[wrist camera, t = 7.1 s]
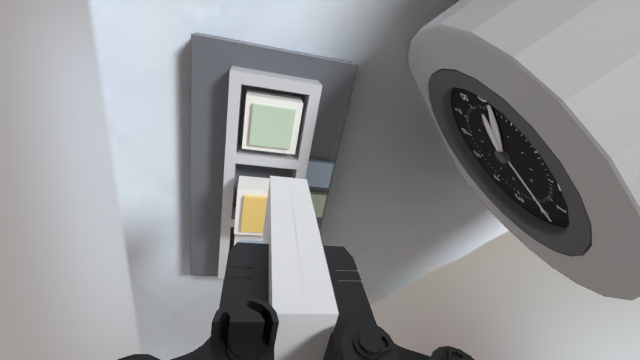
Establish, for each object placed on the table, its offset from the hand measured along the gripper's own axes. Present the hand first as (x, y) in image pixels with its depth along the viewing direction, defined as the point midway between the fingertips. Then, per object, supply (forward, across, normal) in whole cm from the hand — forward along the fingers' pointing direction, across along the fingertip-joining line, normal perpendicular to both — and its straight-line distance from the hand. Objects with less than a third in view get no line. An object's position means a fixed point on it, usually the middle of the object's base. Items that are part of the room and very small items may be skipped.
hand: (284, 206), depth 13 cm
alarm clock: (+16, +18, +3) cm, 24 cm away
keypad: (+15, 0, -6) cm, 16 cm away
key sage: (+13, 0, 0) cm, 13 cm away
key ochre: (+10, 0, -6) cm, 12 cm away
